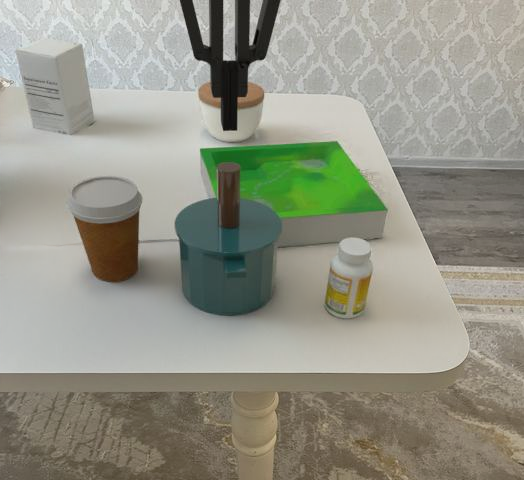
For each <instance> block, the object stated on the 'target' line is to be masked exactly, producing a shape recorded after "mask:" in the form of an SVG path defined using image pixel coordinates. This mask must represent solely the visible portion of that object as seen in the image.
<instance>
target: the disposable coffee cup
mask: <svg viewBox="0 0 524 480" xmlns="http://www.w3.org/2000/svg"><path fill="white" fill-rule="evenodd" d="M142 203H143V195H142V194H141V192H140V191H139V188H138V187H137V185H136V183H135V182H133V181H132V180H130V179H128V178H126V177H121V176H116V175H97V176H92V177H87V178H84V179H82V180H79V181H78V182H76V183H75V184H74V185H72V186H71V188H70V189H69V191H68V197H67V199H66V206H67V209H68V211H70V213H71V215H72V216H73V219H74V222H75V225H76V227H77V230H78V233H79V236H80V240H81V242H82V245H83V248H84V251H85V254H86V256H87V260H88V262H89V266H90V268H91V272H92V274H93V276H94V277H95V278H97V279H98V280H99V281H100V280H101V281H103V282H110V283H111V282H112V283H113V282H114V283H115V282H122V281H125V280H127V279H131V277H133V276H134V275H135V274H137V272H138V270H139V245H140V244H139V241H140V240H139V239H140V238H139V237H140V236H139V235H140V209H141V207H142Z"/></svg>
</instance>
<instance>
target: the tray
mask: <svg viewBox="0 0 524 480" xmlns="http://www.w3.org/2000/svg"><path fill="white" fill-rule="evenodd" d="M223 162H234V163H237V164H239V165H240V167H241V179H240V198H244V199H249V200H253V201H256V202H259V203H261V204H264V205H266V206H268V207H269V208H271V209H272V210H273V211H275V212H276V213H277V214H278V216H279V217H280V219H281V222H282V232H281V235H280V237H279V239H278V248H285V247H297V246H309V245H320V244H329V243H333V244H334V243H340V242H341V241H342V240H344V239H346V238H360V239H363V240H364V239H367V240H375V239H374V238H379V239H382V238H383V235H384V231H385V225H386V220H387V215H388V211H389V210H388V209H389V208H387V206H386V205H385V204H384V202H383V201H382V200H381V198H380V197H379V195H378V194H377V193H376V192H375V190H374V189H373V187H372V186H371V185H370V183H369V182H368V181H367V179H366V178H365V177H364V175H363V174H362V172H360V170H359V169H358V167H357V166H356V165H355V163H354V161H353V160H352V158H350V156H349V155H348V153H347V152H346V151H345V149H344V148H343V147H342V146H341V144H340V143H339V141H338V140H334V141H315V142H313V141H312V142H296V143H295V142H294V143H278V144H260V145H241V146H240V145H239V146H221V147H220V146H219V147H201V148H199V165H200V166H199V167H200V175H201V178H202V181H203V185H204V188H205V192H206V194H207V199H210V198H217V166H218V165H219V164H220V163H223Z"/></svg>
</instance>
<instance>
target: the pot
mask: <svg viewBox="0 0 524 480" xmlns="http://www.w3.org/2000/svg"><path fill="white" fill-rule="evenodd" d="M178 242H179V243H178V245H179V246H178V247H179V259H180V260H179V261H180V276H181V278H180V279H181V289H182V294H183V296H184V298H185V299H186V301H187V302H188V303H189V304H190V305H192V306H193V307H194V308H196V309H198V310H200V311H202V312H205V313H208V314H212V315H217V316H227V317H229V316H240V315H241V316H242V315H245V314H250V313H253V312H255V311H257V310H259V309H261V308H262V307H264V306H265V305H266V304H268V303H269V302H270V300H271V299H272V297H273V295H274V292H275V288H276V278H277V277H276V274H277V262H278V261H277V259H278V248H279V247H278V240H277V241H276V242H275V243H274V244H273V245H271V246H270V247H268V248H266V249H264V250H262V251H259V252H256V253H252V254H247V255H240V256H219V255H212V254H207V253H204V252H200V251H198V250H195V249H193V248H191V247H189V246H187V245H186V244H185V243H183V242H182V241H181V240H180V239H179V238H178Z"/></svg>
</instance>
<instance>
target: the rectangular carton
mask: <svg viewBox="0 0 524 480" xmlns="http://www.w3.org/2000/svg"><path fill="white" fill-rule="evenodd" d="M15 55H16V60H17V63H18V69H19V72H20V78H21V81H22V85H23V89H24V94H25V99H26V103H27V107H28V110H29V116H30V120H31V124H32V125H31V126H32V128H33V129H35V130H36V129H37V130H41V131H45V132H51V133H56V134H61V135H66V136H72V135H74V134H76V133H77V132H79V131H80V130H83V128H84V127H87V126H91V124H93V123H95V114H94V108H93V102H92V95H91V91H90V90H91V89H90V83H89V78H88V71H87V66H86V59H85V54H84V47H83V43H81V42H73V41H68V40H67V41H66V40H61V39H55V38H50V37H42V38H40V39H37V40H35V41H33V42H30V43H28V44H26V45H24V46H22V47H19V48H17V49H15Z"/></svg>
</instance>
